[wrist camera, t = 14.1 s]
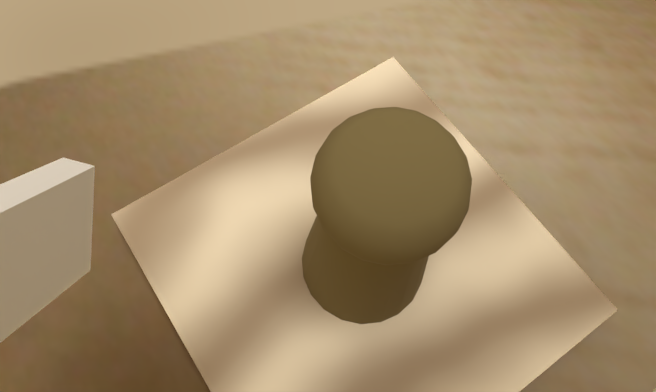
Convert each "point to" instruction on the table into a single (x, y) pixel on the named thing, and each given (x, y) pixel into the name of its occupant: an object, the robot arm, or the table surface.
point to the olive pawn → (381, 211)
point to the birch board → (306, 313)
